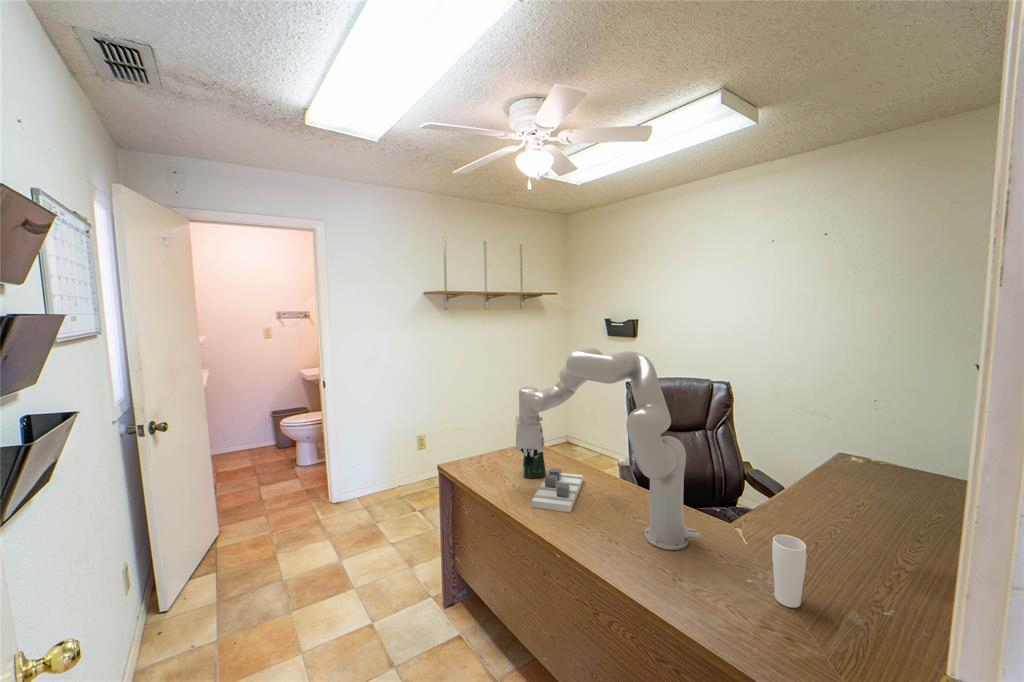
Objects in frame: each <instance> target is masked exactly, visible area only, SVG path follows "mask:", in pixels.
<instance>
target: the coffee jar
mask: <svg viewBox="0 0 1024 682" xmlns="http://www.w3.org/2000/svg"><path fill="white" fill-rule="evenodd" d="M544 438H545V437H544V436H543V446H542V447H543V448H544V446H545V439H544ZM530 452H531V449H529V453H530ZM522 454H523V453H522ZM522 459H523V461H522V475H523V477H524V478H527V479H529V478H530V479H534V478H535V479H537V478H543V477H546V463H545V457H544V451H543V452H539V453H536V454H535V455H534V464H532V466H531V467H529V466H527V463H526V462H525V456H524V454H523V458H522Z"/></svg>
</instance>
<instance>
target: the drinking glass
mask: <svg viewBox="0 0 1024 682" xmlns="http://www.w3.org/2000/svg"><path fill="white" fill-rule="evenodd" d="M771 557H772V558H771V559H772V570H773V572H772V573H773V582H774V583H773V586H774V598H775V600H776V601H777V602H778V603H779V604H781V605H782V606H784V607H786V608H791V609H796V608H799V607H800V606H801V605H802V593H803V586H804V579H805V573H806V566H807V545H806V543H805V542H804V541H803V540H801V539H800V538H797V537H795V536H792V535H789V534H776V535H774V536H773V538H772V546H771Z"/></svg>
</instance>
